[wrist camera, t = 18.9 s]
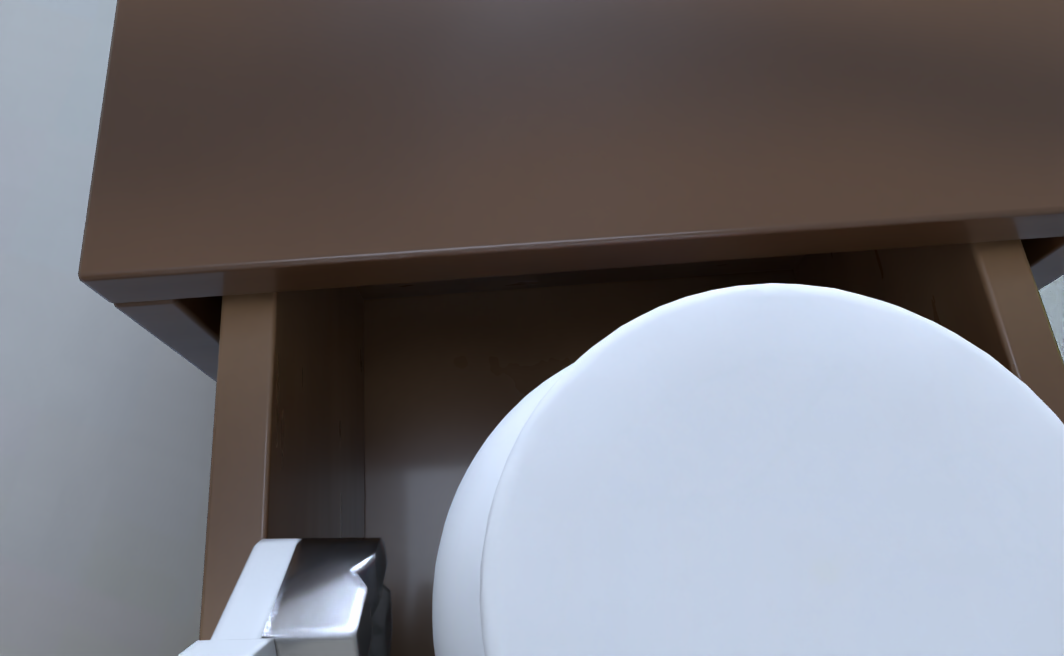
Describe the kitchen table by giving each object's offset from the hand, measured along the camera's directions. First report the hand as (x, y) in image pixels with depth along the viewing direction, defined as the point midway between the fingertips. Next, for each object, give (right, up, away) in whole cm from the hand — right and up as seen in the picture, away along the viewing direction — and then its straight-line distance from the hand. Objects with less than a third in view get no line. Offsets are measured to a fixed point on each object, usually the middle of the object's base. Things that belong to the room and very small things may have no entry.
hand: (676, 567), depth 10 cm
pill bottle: (0, -3, +6) cm, 7 cm away
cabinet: (-1, +8, +12) cm, 15 cm away
